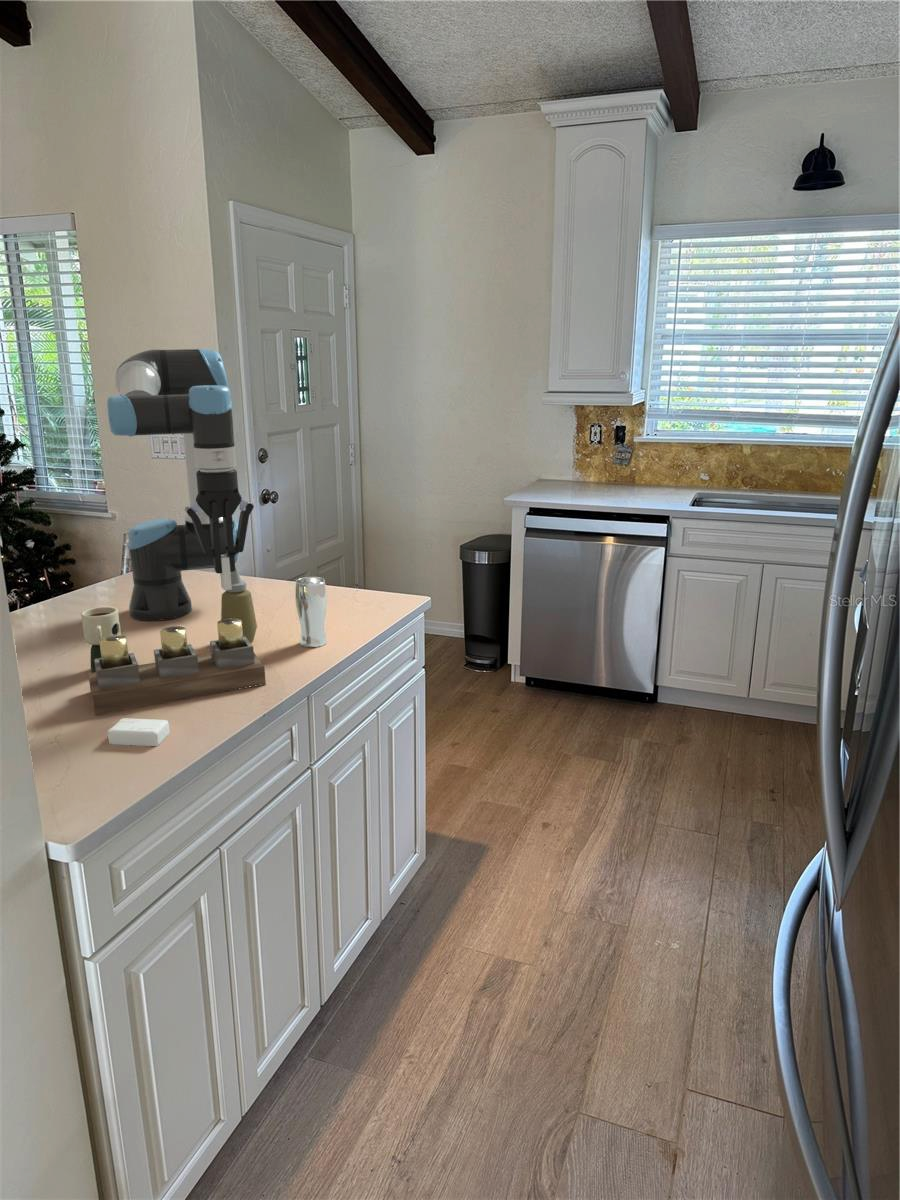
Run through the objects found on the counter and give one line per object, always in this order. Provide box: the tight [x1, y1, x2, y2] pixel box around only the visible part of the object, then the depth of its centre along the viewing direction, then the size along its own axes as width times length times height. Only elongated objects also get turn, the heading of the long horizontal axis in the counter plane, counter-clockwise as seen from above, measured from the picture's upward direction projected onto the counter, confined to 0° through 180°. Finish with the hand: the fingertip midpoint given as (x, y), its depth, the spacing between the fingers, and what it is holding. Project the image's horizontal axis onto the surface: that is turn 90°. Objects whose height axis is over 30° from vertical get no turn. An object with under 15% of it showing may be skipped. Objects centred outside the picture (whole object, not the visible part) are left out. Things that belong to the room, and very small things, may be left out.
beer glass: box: [294, 576, 328, 648], centre depth 188 cm, size 7×7×15 cm
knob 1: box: [99, 634, 129, 668], centre depth 158 cm, size 5×5×5 cm
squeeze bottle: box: [220, 566, 258, 644], centre depth 188 cm, size 8×8×18 cm
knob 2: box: [216, 618, 244, 650], centre depth 167 cm, size 5×5×5 cm
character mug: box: [80, 606, 122, 672], centre depth 173 cm, size 11×7×13 cm, turn 16°
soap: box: [107, 717, 171, 747], centre depth 144 cm, size 9×6×3 cm, turn 84°
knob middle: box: [159, 625, 188, 659], centre depth 162 cm, size 5×5×5 cm
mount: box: [87, 636, 267, 716], centre depth 164 cm, size 12×32×8 cm, turn 116°
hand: (226, 588), depth 164 cm, fingers closed
